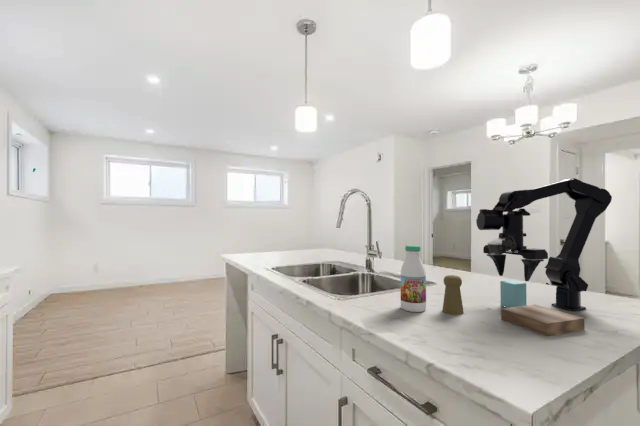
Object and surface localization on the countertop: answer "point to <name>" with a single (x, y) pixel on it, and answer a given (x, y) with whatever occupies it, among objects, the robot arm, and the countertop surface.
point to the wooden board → (542, 319)
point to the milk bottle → (413, 281)
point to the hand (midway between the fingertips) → (513, 278)
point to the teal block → (513, 293)
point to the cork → (452, 295)
